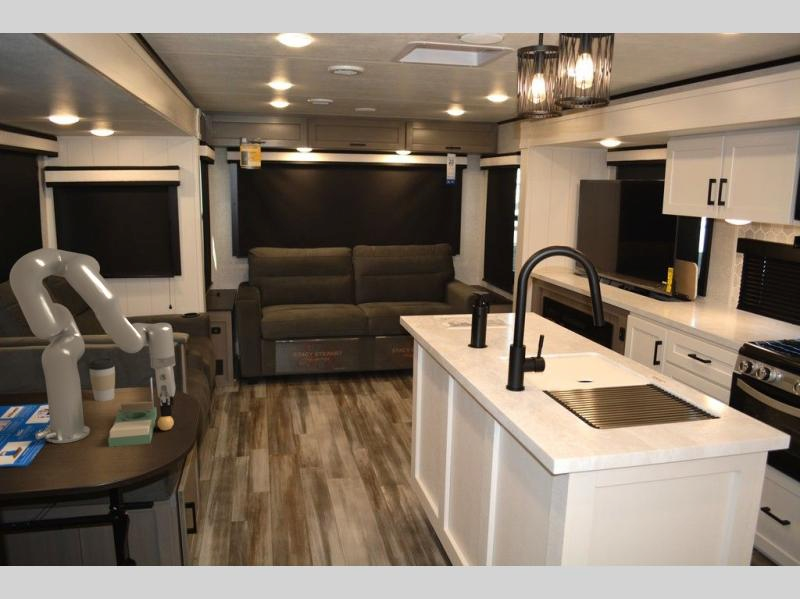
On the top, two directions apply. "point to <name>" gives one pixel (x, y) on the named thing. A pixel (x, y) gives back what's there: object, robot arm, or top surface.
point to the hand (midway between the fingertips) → (167, 410)
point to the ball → (165, 423)
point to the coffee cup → (102, 378)
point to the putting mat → (134, 423)
